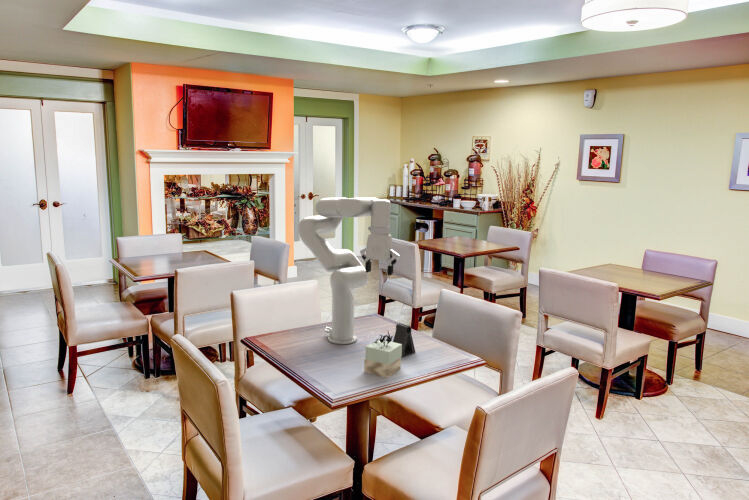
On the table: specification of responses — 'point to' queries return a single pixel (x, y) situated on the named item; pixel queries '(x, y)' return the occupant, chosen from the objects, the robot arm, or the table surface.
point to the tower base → (382, 368)
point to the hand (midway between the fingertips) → (379, 273)
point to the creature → (384, 339)
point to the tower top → (383, 352)
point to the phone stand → (404, 339)
